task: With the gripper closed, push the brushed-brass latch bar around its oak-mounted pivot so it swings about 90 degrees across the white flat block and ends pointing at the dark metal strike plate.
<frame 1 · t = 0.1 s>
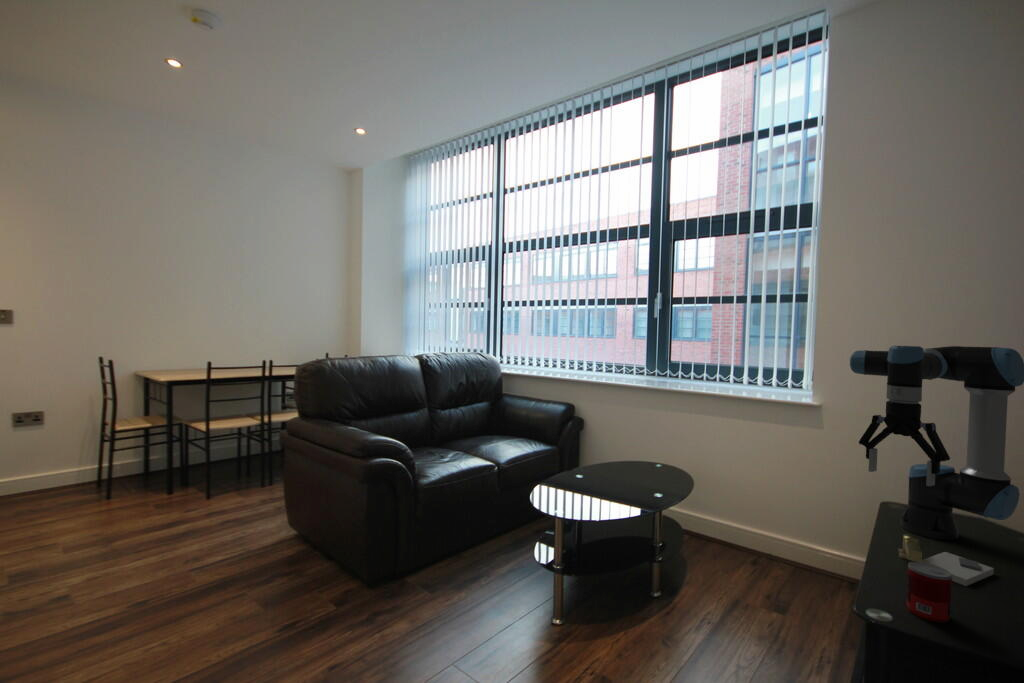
hand: (900, 478, 131), 28 cm above the tv stand, fingers open, 13 cm apart
jamb plate: (909, 557, 145), on the tv stand
white flat block: (954, 570, 137), on the tv stand
latch bar: (912, 549, 141), point 4 cm above the tv stand, hinge at 0.0°
canned food: (927, 614, 115), on the tv stand
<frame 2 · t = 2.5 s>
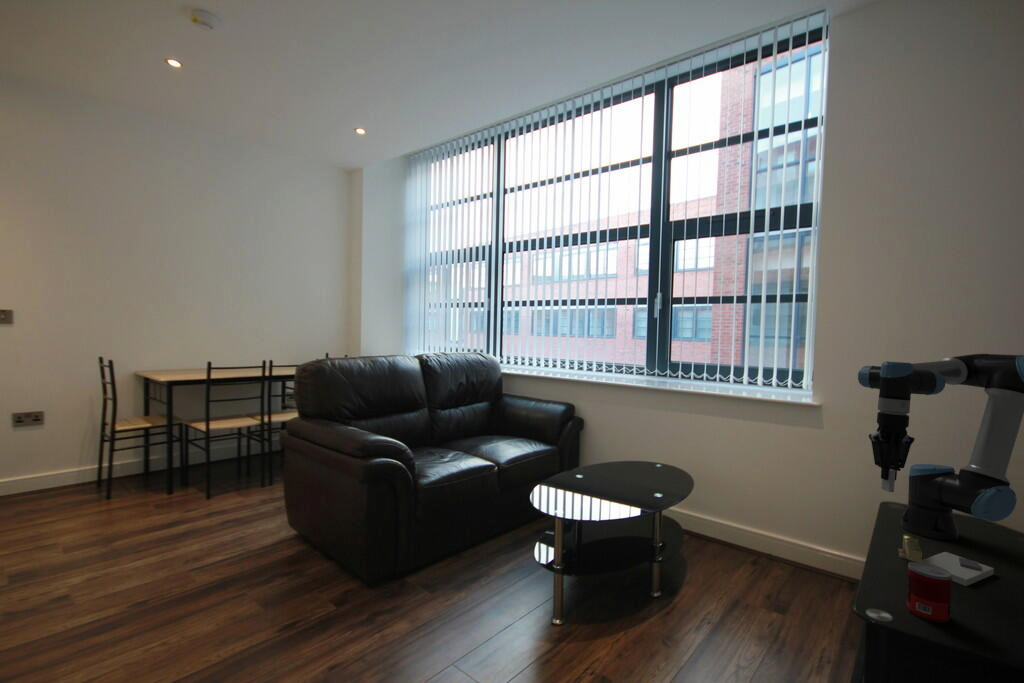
hand: (887, 490, 143), 21 cm above the tv stand, fingers closed
nothing on the tv stand moved.
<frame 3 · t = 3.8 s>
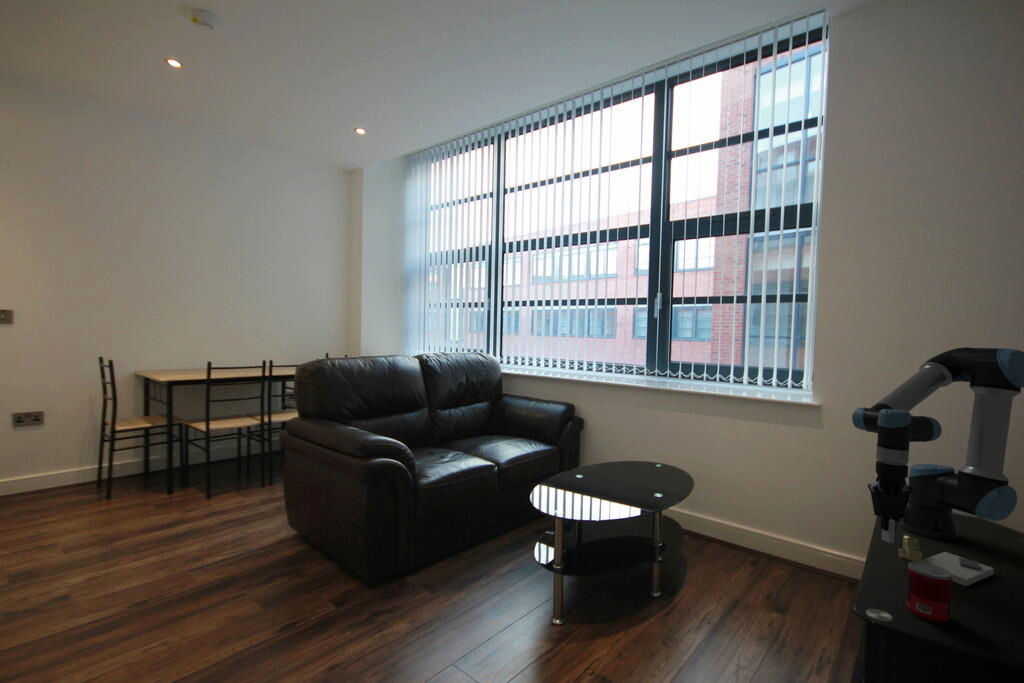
hand: (887, 540, 141), 6 cm above the tv stand, fingers closed
nothing on the tv stand moved.
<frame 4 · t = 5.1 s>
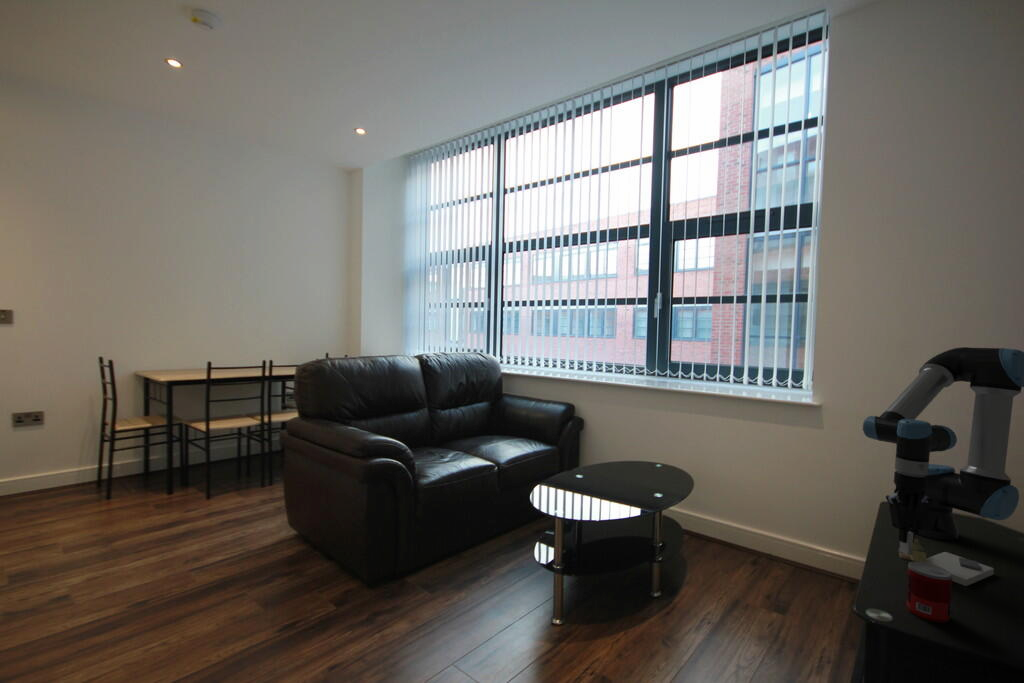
hand: (905, 552, 139), 4 cm above the tv stand, fingers closed
latch bar: (913, 550, 141), point 4 cm above the tv stand, hinge at 5.5°, touching gripper
everything else where it was.
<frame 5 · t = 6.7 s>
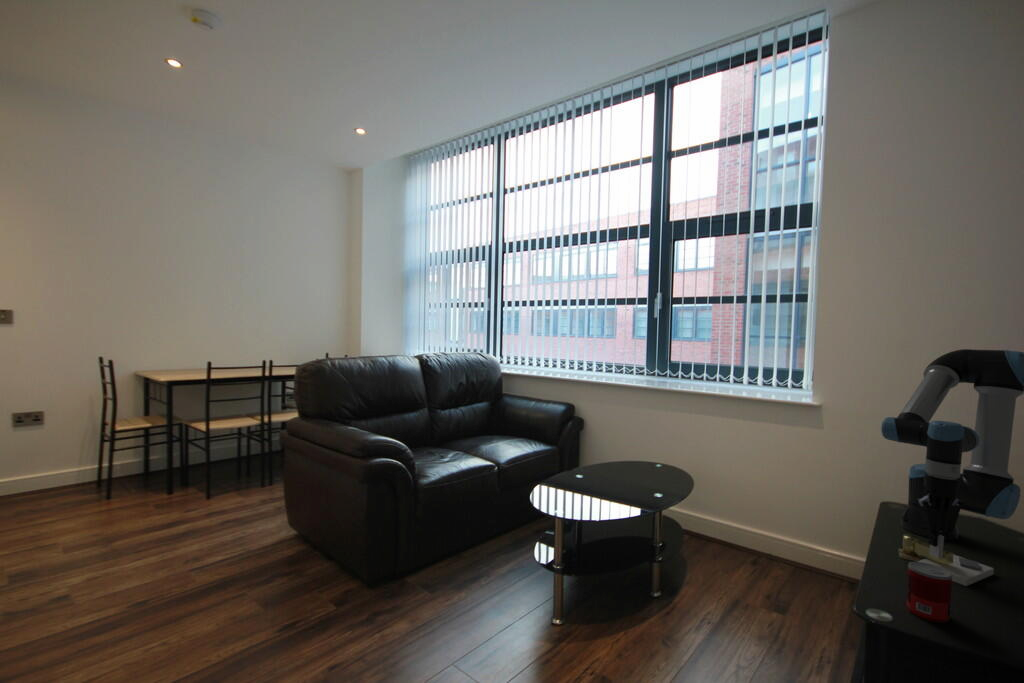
hand: (935, 556, 137), 4 cm above the tv stand, fingers closed
latch bar: (925, 551, 141), point 4 cm above the tv stand, hinge at 53.6°, touching gripper
everything else where it was.
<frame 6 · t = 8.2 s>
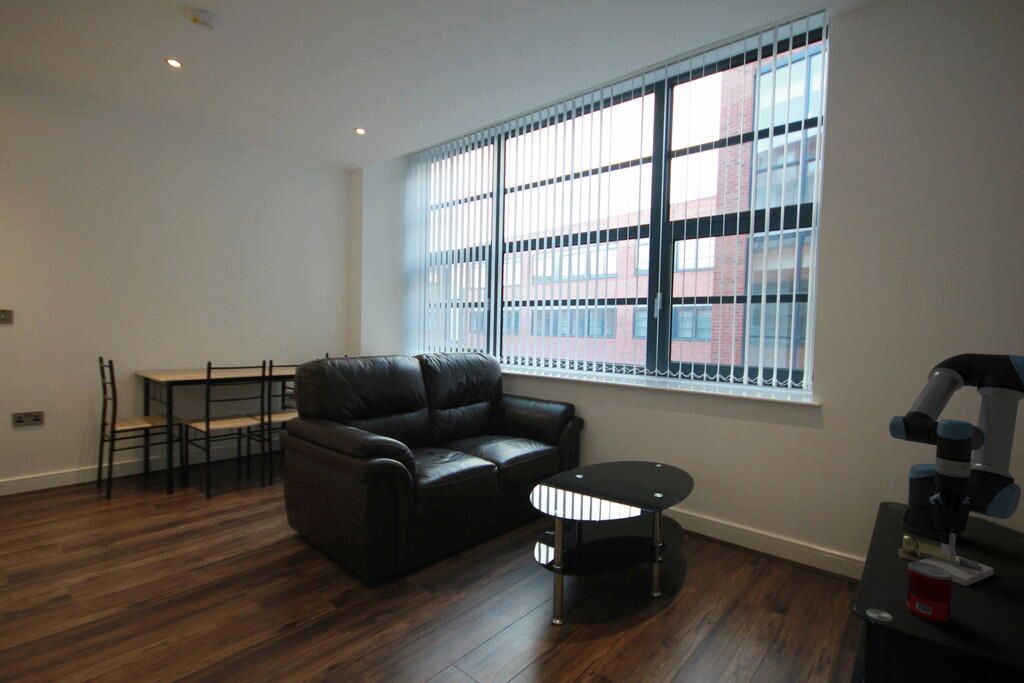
hand: (947, 554, 138), 4 cm above the tv stand, fingers closed
latch bar: (928, 549, 142), point 4 cm above the tv stand, hinge at 87.2°, touching gripper
everything else where it was.
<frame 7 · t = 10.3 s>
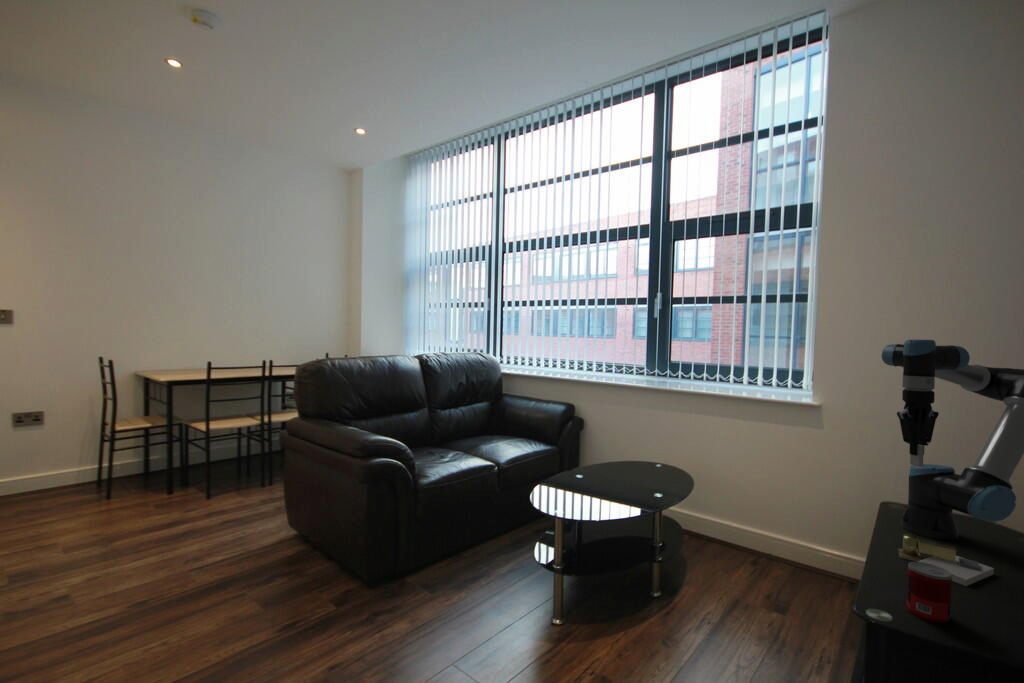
hand: (916, 465, 147), 28 cm above the tv stand, fingers closed
latch bar: (928, 549, 142), point 4 cm above the tv stand, hinge at 87.3°
everything else where it was.
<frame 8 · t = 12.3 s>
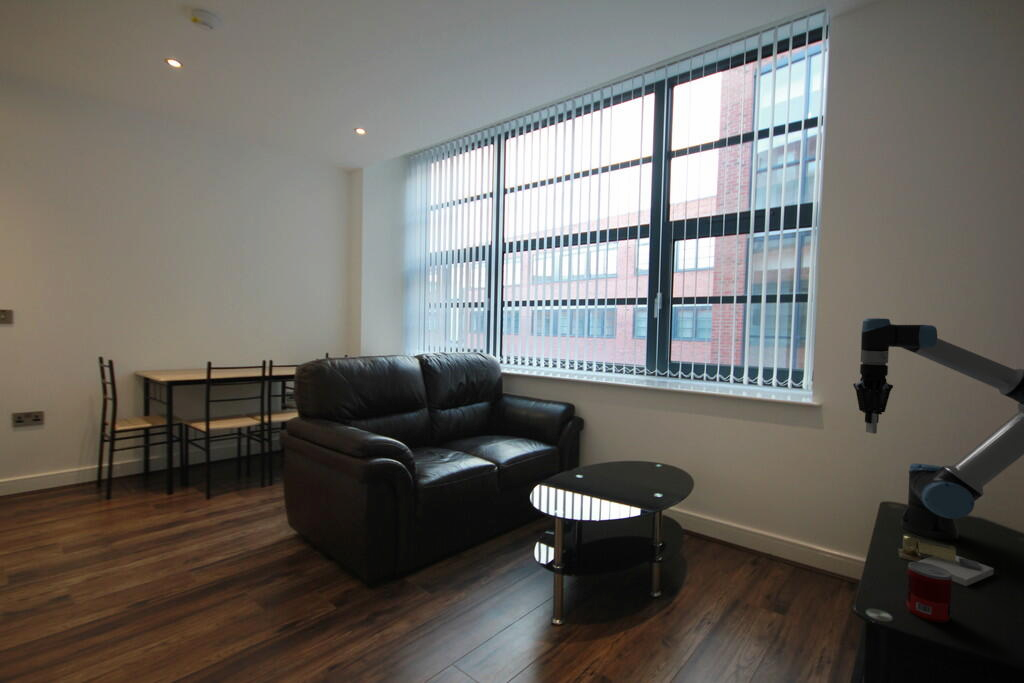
hand: (871, 432, 162), 34 cm above the tv stand, fingers closed
nothing on the tv stand moved.
at the end: latch bar at +87° (first picture: +0°); latch bar touching nothing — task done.
